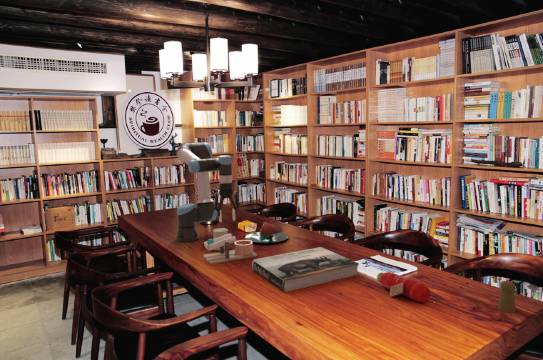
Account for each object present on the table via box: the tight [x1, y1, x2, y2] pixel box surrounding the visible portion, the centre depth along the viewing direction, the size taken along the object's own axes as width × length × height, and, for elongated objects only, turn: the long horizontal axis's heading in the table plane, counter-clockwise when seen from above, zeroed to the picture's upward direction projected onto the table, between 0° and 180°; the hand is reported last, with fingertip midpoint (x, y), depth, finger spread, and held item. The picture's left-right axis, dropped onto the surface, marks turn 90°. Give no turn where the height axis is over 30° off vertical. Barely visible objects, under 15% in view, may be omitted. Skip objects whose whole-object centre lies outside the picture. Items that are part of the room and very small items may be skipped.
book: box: [251, 246, 360, 293], centre depth 199 cm, size 43×33×6 cm
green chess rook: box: [497, 280, 517, 314], centre depth 154 cm, size 6×6×11 cm
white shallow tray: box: [203, 233, 237, 252], centre depth 227 cm, size 15×16×3 cm
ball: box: [206, 238, 214, 245], centre depth 222 cm, size 4×4×4 cm
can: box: [212, 227, 229, 251], centre depth 244 cm, size 9×9×12 cm
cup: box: [233, 239, 254, 255], centre depth 231 cm, size 10×10×6 cm
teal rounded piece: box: [245, 221, 289, 244], centre depth 262 cm, size 28×28×11 cm
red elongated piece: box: [376, 271, 431, 303], centre depth 170 cm, size 12×8×25 cm
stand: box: [202, 242, 258, 265], centre depth 228 cm, size 15×28×10 cm, turn 114°
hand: (227, 220), depth 234 cm, fingers open, 8 cm apart
